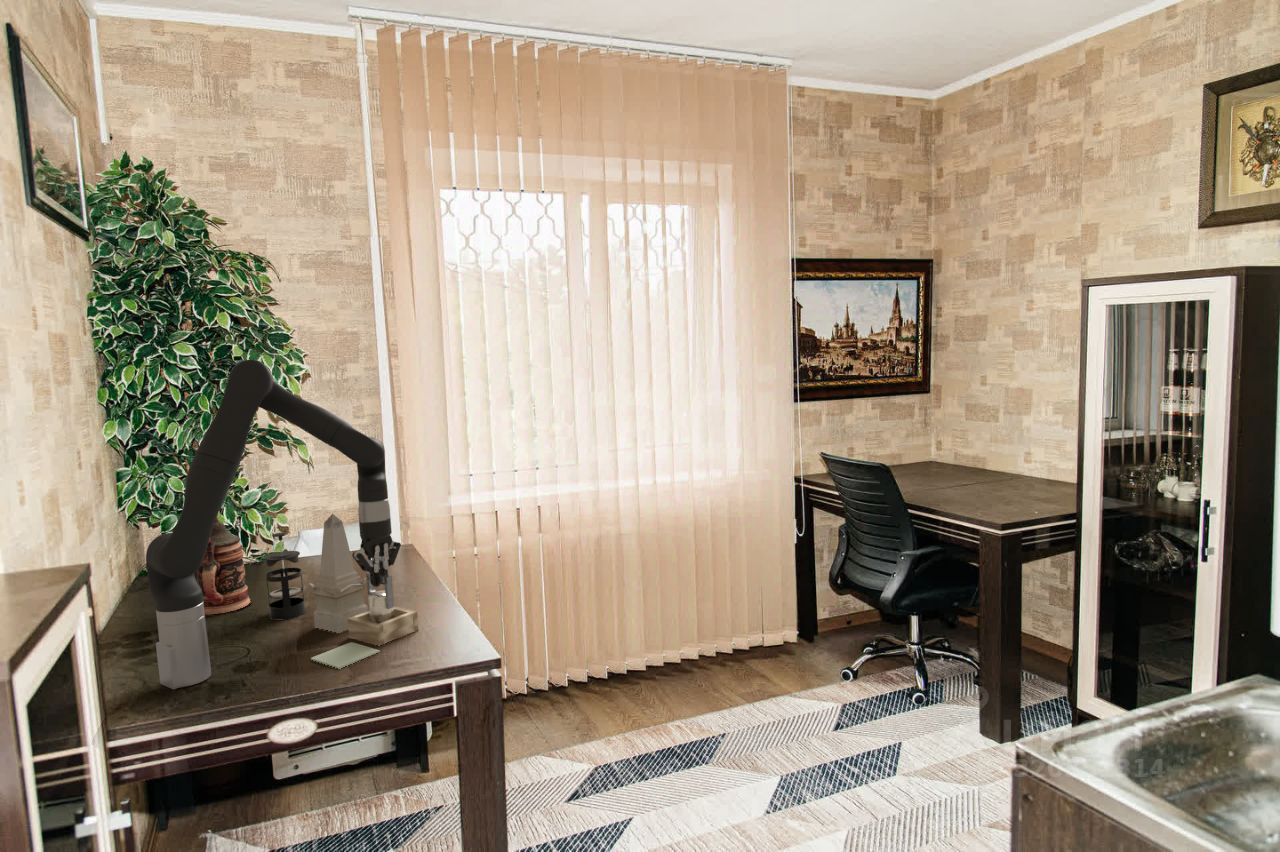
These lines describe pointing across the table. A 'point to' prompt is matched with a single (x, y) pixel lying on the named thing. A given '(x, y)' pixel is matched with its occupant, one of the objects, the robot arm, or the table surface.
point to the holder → (383, 627)
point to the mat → (345, 655)
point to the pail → (380, 600)
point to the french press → (284, 585)
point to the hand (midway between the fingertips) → (379, 584)
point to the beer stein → (223, 573)
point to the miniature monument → (337, 581)
